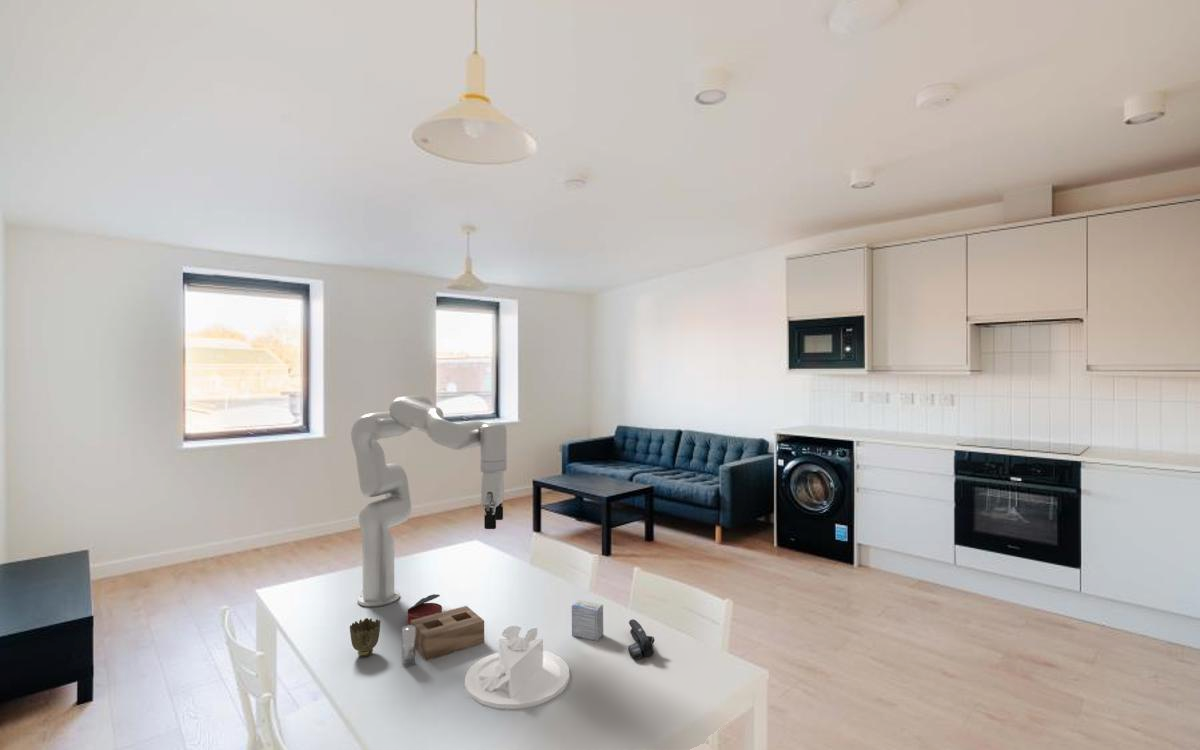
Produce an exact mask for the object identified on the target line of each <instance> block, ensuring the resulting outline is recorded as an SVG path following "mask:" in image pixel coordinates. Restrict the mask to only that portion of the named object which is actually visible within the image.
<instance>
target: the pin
mask: <svg viewBox="0 0 1200 750" xmlns="http://www.w3.org/2000/svg"><path fill="white" fill-rule="evenodd" d="M401 628H402V629H401V666H402V665H403V666H406V667H405V668H410V667H409V666H411V667H413V666H415V665H416V658H417V657H416V650H417V649H416V648H415V626H413V625H410V624H408V625H405V626H403V627H401ZM414 664H415V665H414ZM412 665H413V666H412Z"/></svg>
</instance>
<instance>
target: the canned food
mask: <svg viewBox="0 0 1200 750" xmlns="http://www.w3.org/2000/svg"><path fill="white" fill-rule="evenodd" d="M440 596H441V595H440V594H435V593H434V594H430V595H428V596H425V597H423V598H421V599H419V601H417V602H416V603H415V604H414V605H413V606H411V607H409V608H407V609H406V610H407V611H406V612H407V623H408V625H411V620H414V619H417V618H421V617H425V616H429V615H433V614H437V613H441V612H443V606H442V605H441V604H439V603H437V602H436V603H435V602H430V601H432V600H435V599H437V598H439V597H440Z"/></svg>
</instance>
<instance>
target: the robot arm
mask: <svg viewBox="0 0 1200 750" xmlns="http://www.w3.org/2000/svg"><path fill="white" fill-rule="evenodd" d="M388 407H389V408H388V411H381V412H379V411H378V412H370V413H367V414H364V415H361V416H360V417H358V419H356V420H355V422H353V424H352V427H351V432H350V439H351V444H352V446H353V450H354V454H355V458H356V469H357V474H358V482H359V488H360V489H359V490H360V492H361V494H362V495H363V496H364V497H366V498H375V497H379V496H384V495H385V498H380V499H378V500H375V501H371V502H370V503H367V504H365V505H364V506H363V508H361V510H360V511H359V515H358V523H359V528H360V532H361V541H362V542H361V543H362V544H361V547H362V549H361V550H362V551H361V552H362V593H361V594H360V595H358V597H357V603H358V605H360V606H363V607H371V608H372V607H380V606H381V607H382V606H387V605H389V604H391V603H394V602H396V601H397V600H398V599H399V598H400V591H399V590H398V589H395V540H394V537H393V535H392V534H391V531H390V528H392V527H395V526H397V525H401V524H403V523H405V522H407V521H408V519H409V518H410V516H411V513H412V501H411V495H410V489H409V481H408V475H407V473H406V471H405V469H404V468H403V467H402V466H401V465H400V464H397V463H394V462H393V463H392V462H391V463H386V457H385V452H384V450H383V448H382V445H381V444H380V443H379V442H378V440H382V439H387V438H388V439H389V438H395V437H400V436H403V435H405V434H407V433H409V432H410V431H412V430H413V429H415V430H418V431H421V432H422V433H425V434H427V436H428V438H429V439H431V440H432V442H434V443H436V444H438V445H440V446H443V447H446V448H448V449H451V450H457V451H461V450H467V449H471V448H477V447H480V472H481V473H482V476H481V477H482V478H481V495H480V497H481V498H480V505H481V507H483V508H484V518H483V519H484V521H483V522H484V525H483V526H484V529H485V530H496V528H497V521H503V520H504V506H503V505H504V497H505V480H504V479H505V478H504V472H506V471H507V470H508V468H507V467H508V465H507V464H508V461H507V458H508V457H507V455H508V454H507V451H508V450H507V449H508V448H507V444H508V443H507V436H508V435H507V426H506V425H505V424H504V423H500V422H494V423H493V422H489V423H487V422H484V421H471V422H470V421H469V422H461V423H457V422H452V421H450V420H446V419H445V418H444V412H443V410H442V409H441V408H440V407H438V406H435V405H433V403H432V401H431V400H430V399H429V398H428V397H426V396H424V395H419V394H418V395H407V396H406V395H405V396H400V397H397V398H395V399H393V400H392V402H391V403H390V405H389V406H388Z"/></svg>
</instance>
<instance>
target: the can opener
mask: <svg viewBox="0 0 1200 750" xmlns="http://www.w3.org/2000/svg"><path fill="white" fill-rule="evenodd" d="M628 624H629V627H630V630H629V631H630V632H629V633H630V635H631V637H632V639H633V640H634V641H635V642H633V643H632V644H630V645H628V646H627V650H628V651H627V652H628V654H629V656H630V657H631V658H632V659H633V660H635V659H637V660H638V659H642V658H643V657H649V656H651V655H653V654H654V653H655V651H654V645H653V644H655V636H652V635H650V636H649V635H647V632H645V630H644V628H643V627H642V625H641V624H640V623H639V622H638V621H637V620H636V619H630V620H629V621H628Z"/></svg>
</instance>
